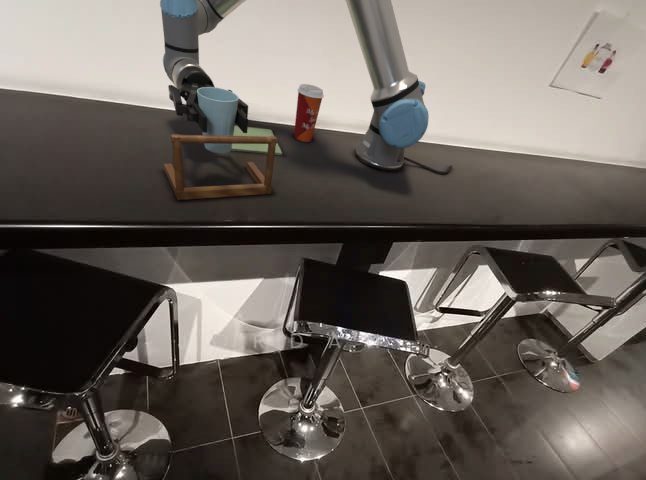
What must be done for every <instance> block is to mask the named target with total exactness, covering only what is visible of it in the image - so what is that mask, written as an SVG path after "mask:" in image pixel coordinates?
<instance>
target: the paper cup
mask: <svg viewBox="0 0 646 480" xmlns="http://www.w3.org/2000/svg"><path fill="white" fill-rule="evenodd" d="M324 96H325V95H324V89H322V88H321V87H318V86H316V85H313V84H308V83H301V84H300V85H299V86H298V88H297V101H296V102H297V103H296V110H295V111H296V112H295V122H294V136H293V137H294V138H295V139H296V140H298V141H300V142H305V143H306V142H307V143H308V142H309V143H310V142H312V139H313V136H314V133H315V129H316V125H317V120H318V117H319V116H318V115H319V112H320V108H321V104H322V101H323V99H324Z"/></svg>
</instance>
